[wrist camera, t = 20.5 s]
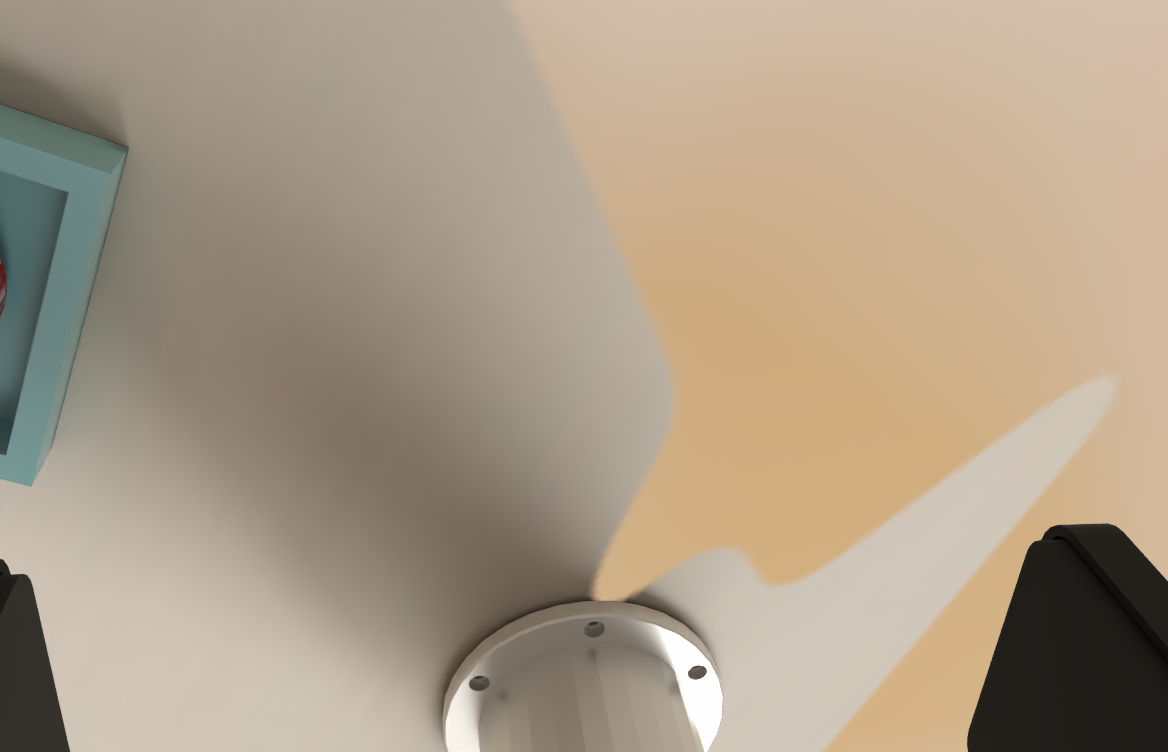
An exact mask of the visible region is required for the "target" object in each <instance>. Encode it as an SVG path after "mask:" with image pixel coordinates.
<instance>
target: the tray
mask: <svg viewBox="0 0 1168 752" xmlns="http://www.w3.org/2000/svg"><path fill="white" fill-rule="evenodd" d="M128 149H129V148H128V147H125V146H122V145H119V144H116V143H113V142H110V141H107V140H104V139H101V138H98V137H95V136H92V135H89V134H86V133H84V132H81V131H78V130H75V129H72V128H69V127H66V126H63V125H60V124H57V123H54V122H51V121H48V120H45V119H42V118H40V117H37V116H34V115H31V114H28V113H25V112H22V111H19V110H16V109H13V108H10V107H7V106H4V105H1V104H0V256H1V259H2V261H3V265H4V269H5V274H6V283H7V294H6V301H5V307H4V309H3V312H2V315H1V318H0V479H3V480H7V481H11V482H16V483H20V484H24V485H28V486H32V485H33V483H34V481H35V479H36V477H37V475H38V473H39V471H40V469H41V467H42V465H43V463H44V461H45V459H46V457H47V455H48V453H49V451H50V449H51V447H52V444H53V440H54V436H55V432H56V428H57V425H58V421H59V417H60V413H61V409H62V405H63V401H64V397H65V394H66V390H67V386H68V382H69V378H70V374H71V370H72V366H73V362H74V359H75V355H76V351H77V347H78V343H79V339H80V335H81V331H82V328H83V324H84V320H85V316H86V312H87V308H88V304H89V300H90V296H91V293H92V289H93V285H94V281H95V277H96V273H97V269H98V265H99V261H100V258H101V254H102V250H103V246H104V242H105V238H106V234H107V230H108V227H109V223H110V219H111V215H112V211H113V207H114V203H115V199H116V195H117V192H118V188H119V184H120V180H121V176H122V172H123V168H124V164H125V160H126V157H127V153H128Z"/></svg>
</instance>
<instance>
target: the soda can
mask: <svg viewBox="0 0 1168 752" xmlns="http://www.w3.org/2000/svg"><path fill="white" fill-rule="evenodd" d="M6 294H7V283H6V274H5V269H4V265H3V261H2V259H1V256H0V318H1V315H2V312H3V309H4V307H5V301H6Z"/></svg>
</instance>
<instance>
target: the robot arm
mask: <svg viewBox="0 0 1168 752" xmlns="http://www.w3.org/2000/svg"><path fill="white" fill-rule="evenodd" d="M723 702H724V694H723V689H722V685H721V680H720V676H719V673H718V671H717V668H716V665H715V663H714V660H713V658H712V655H711V653H710V652H709V651H708V649H707V648H706V646H705V645H704V643H703V642H702V641H701V639H700V638H699V637H698V636H697V635H696V634H694V633H693V632H692V631H691V630H690V629H689V628H688V627H686V626H685V625H684V624H683V623H681V622H679V621H677V620H675V619H674V618H672V617H670V616H668V615H666V614H665V613H662V612H659V611H656V610H653V609H650V608H647V607H644V606H641V605H636V604H630V603H623V602H617V601H583V602H576V603H569V604H563V605H557V606H554V607H550V608H547V609H544V610H540V611H537V612H534V613H530V614H528V615H526V616H524V617H522V618H520V619H518V620H516V621H514V622H511V623H509V624H507V625H505V626H504V627H502V628H501V629H499V630H498V631H497V632H495V633H494V634H492V635H491V636H489V637H488V638H486V639H485V640H483V641H482V642H481V643H480V644H479V645H478V646H477V647H476V648H475V649H474V650H473V651H472V652H471V653H470V654H469V655H468V656H467V657H466V658H465V660H464V661H463V663H462V664H461V666H460V667H459V668H458V670H457V671H456V673H455V674H454V676H453V678H452V680H451V683H450V685H449V688H448V690H447V693H446V695H445V700H444V707H443V714H442V721H443V740H444V744H445V748H446V752H707V751H708V749H709V747H710V745H711V744H712V742H713V740H714V738H715V736H716V735H717V732H718V729H719V726H720V722H721V719H722V716H723ZM967 747H968V752H1168V581H1167V580H1166V579H1165V578H1164V577H1163V576H1162V575H1161V573H1160V572H1159V571H1158V570H1157V569H1156V568H1155V567H1154V566H1153V564H1151V562H1150V561H1149V560H1148V559H1147V558H1146V557H1145V556H1144V554H1143V553H1142V552H1141V551H1140V550H1139V549H1138V548H1137V547H1136V546H1135V545H1134V543H1133V542H1132V541H1131V540H1130V539H1129V538H1128V537H1127V536H1126V534H1124V532H1123V531H1121V530H1120V529H1119V528H1118V527H1116V526H1114V525H1111V524H1079V525H1078V524H1077V525H1057V526H1053V527H1051V528H1049V530H1047V531H1046V532H1045V534H1044V536H1043V538H1042V540H1040V541H1035V542H1033V543H1032V544H1031V546H1030V547H1029V549H1028V551H1027V554H1026V556H1025V560H1024V562H1023V565H1022V569H1021V572H1020V575H1019V578H1018V581H1017V584H1016V587H1015V590H1014V593H1013V596H1012V599H1011V602H1010V605H1009V608H1008V611H1007V614H1006V618H1005V621H1004V624H1003V627H1002V630H1001V633H1000V636H999V639H998V642H997V645H996V648H995V651H994V655H993V657H992V661H991V663H990V667H989V670H988V673H987V676H986V679H985V682H984V685H983V688H982V691H981V694H980V697H979V700H978V703H977V707H976V709H975V713H974V716H973V719H972V722H971V725H970V728H969V732H968V737H967ZM0 752H70V750H69V745H68V741H67V736H66V732H65V727H64V723H63V719H62V714H61V710H60V705H59V701H58V696H57V692H56V688H55V683H54V679H53V674H52V670H51V666H50V661H49V657H48V652H47V648H46V643H45V639H44V635H43V630H42V626H41V621H40V617H39V612H38V608H37V604H36V599H35V595H34V590H33V586H32V583H31V580H30V579H29V577H28V576H27V575H24V574H14V575H11V574H10V571H9V568H8V566H7V564H6V563H5V562H4V560H2V559H0Z"/></svg>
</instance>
